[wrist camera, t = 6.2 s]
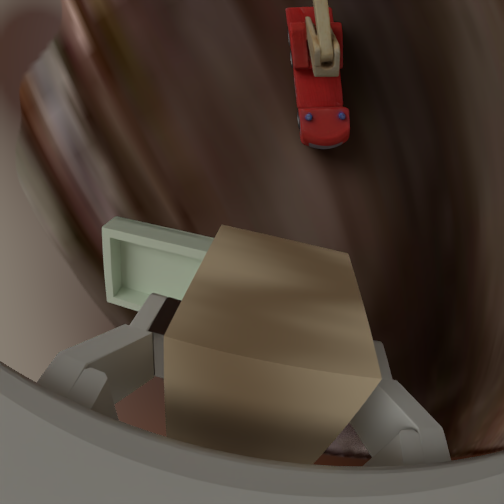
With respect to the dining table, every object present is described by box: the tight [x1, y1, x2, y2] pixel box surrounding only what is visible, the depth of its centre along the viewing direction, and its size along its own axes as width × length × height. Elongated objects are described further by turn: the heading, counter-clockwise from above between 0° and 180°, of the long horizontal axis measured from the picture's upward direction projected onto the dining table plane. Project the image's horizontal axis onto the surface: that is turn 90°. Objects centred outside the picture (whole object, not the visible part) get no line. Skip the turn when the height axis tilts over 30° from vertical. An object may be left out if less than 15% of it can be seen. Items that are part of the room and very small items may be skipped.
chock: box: [164, 225, 382, 464], centre depth 8 cm, size 4×5×5 cm
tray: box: [102, 216, 214, 311], centre depth 27 cm, size 10×8×2 cm
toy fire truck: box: [286, 0, 350, 149], centre depth 14 cm, size 3×14×10 cm, turn 6°
